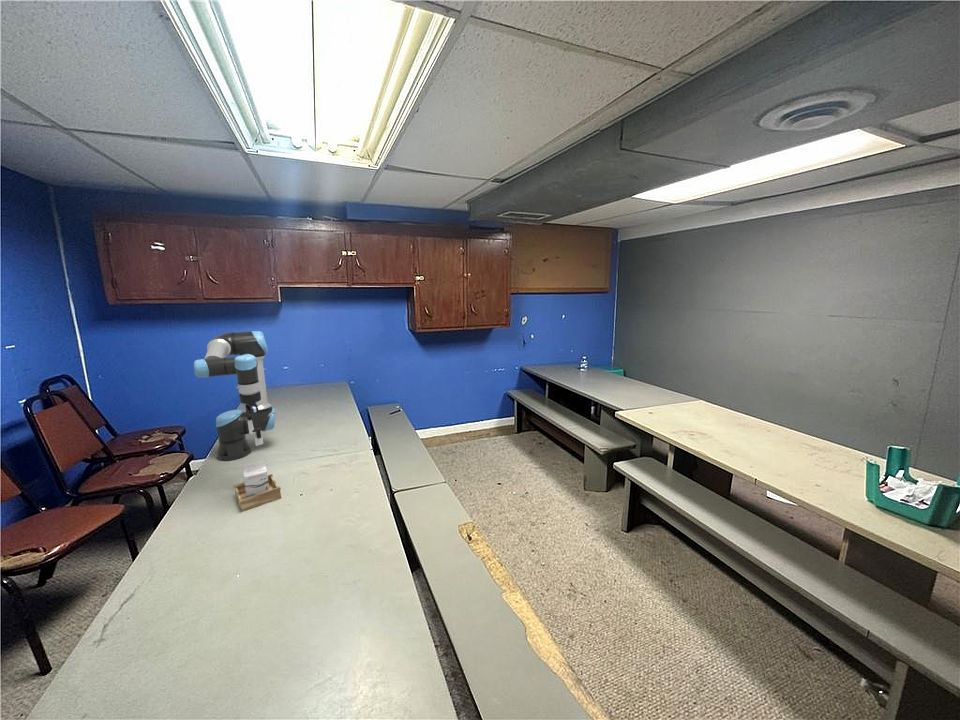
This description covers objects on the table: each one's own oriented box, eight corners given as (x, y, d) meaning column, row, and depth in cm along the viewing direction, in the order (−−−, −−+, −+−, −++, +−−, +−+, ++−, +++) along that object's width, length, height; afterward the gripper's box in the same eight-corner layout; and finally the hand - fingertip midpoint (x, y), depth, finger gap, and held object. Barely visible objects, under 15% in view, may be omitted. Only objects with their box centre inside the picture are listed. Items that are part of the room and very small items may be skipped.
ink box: (247, 502, 153) (242, 470, 150) (246, 496, 157) (241, 465, 153) (270, 495, 158) (266, 464, 154) (268, 490, 162) (264, 459, 158)
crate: (235, 496, 158) (233, 485, 157) (273, 483, 168) (271, 473, 167) (241, 512, 147) (239, 501, 146) (281, 498, 157) (280, 487, 156)
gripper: (234, 386, 159) (240, 431, 165) (244, 402, 141) (251, 452, 146) (254, 383, 164) (259, 427, 169) (266, 398, 146) (272, 447, 151)
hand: (256, 438), depth 158 cm, fingers open, 13 cm apart
